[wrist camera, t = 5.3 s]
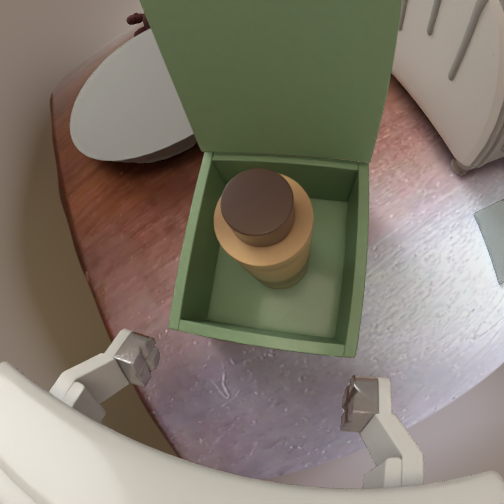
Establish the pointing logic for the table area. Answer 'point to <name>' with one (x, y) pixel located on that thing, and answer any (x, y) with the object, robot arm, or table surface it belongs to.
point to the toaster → (456, 73)
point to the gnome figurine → (137, 19)
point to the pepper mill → (266, 226)
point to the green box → (279, 300)
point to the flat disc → (131, 108)
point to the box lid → (280, 72)
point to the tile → (493, 234)
